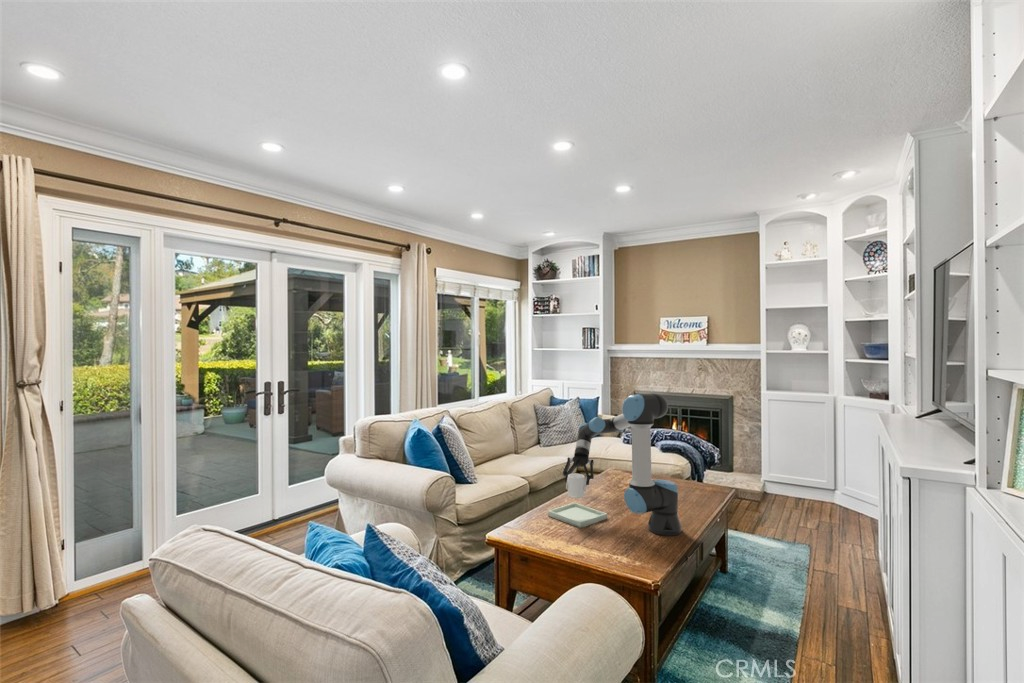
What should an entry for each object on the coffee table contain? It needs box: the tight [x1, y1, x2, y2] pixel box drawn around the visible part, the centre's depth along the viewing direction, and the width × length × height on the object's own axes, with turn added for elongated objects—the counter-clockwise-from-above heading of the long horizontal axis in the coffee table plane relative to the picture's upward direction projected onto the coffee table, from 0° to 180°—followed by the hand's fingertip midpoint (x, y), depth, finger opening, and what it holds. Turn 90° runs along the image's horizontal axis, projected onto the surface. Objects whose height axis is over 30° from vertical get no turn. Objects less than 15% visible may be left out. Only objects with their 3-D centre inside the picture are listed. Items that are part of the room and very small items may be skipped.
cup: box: [567, 472, 586, 499], centre depth 257 cm, size 8×12×10 cm
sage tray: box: [547, 502, 608, 529], centre depth 257 cm, size 22×20×2 cm
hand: (575, 489), depth 254 cm, fingers closed on cup, 8 cm apart
